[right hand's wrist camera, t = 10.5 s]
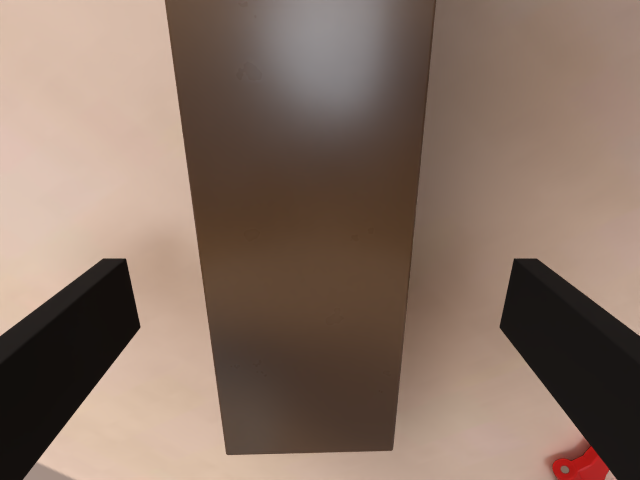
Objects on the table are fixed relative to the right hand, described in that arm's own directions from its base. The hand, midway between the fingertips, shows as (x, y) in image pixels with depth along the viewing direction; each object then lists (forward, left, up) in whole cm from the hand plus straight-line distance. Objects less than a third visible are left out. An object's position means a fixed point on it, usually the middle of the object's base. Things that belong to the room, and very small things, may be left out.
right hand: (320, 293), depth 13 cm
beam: (+19, -8, -6) cm, 22 cm away
